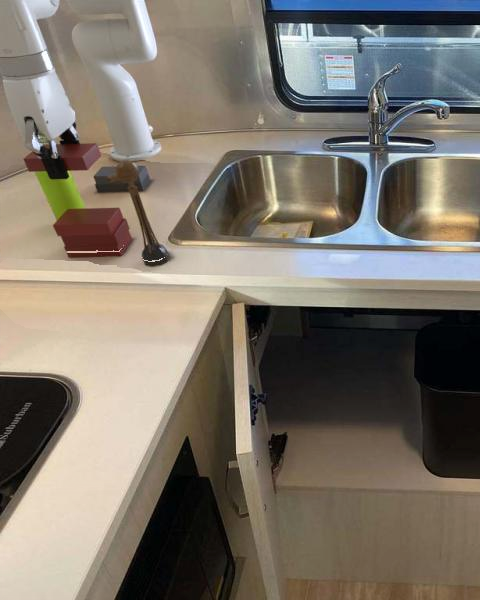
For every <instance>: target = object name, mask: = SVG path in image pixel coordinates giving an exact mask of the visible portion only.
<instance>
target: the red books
mask: <svg viewBox="0 0 480 600" xmlns="http://www.w3.org/2000/svg"><path fill="white" fill-rule="evenodd" d="M52 226H53V229H54V232H55V233H56V235H57V237H60V238H61V240H62V243H63V244H64V246H63V248H64V250H65V252H66V251H96V250H98V251H113V250H114V251H119V250H120V249H121V248H122V249H121V250H120V252H97V253H66V255H67V257H68V258H102V257H103V258H105V257H122V255H123V254H124V252H125V251H126V249H127V248H128V247H129V245H130V243H131V242H132V239H133V237H132V234H131V232H130V229H131V228H130V225H129V223H128V220H127V218H125V217H124V216H123V213H122V210H121V208H120V207H89V208H86V207H85V208H84V209H67V210H66V211H65V212H64V213H63V214H62V216H61V217H60V218H59V219H58V220H55V222H54V223H53V224H52ZM123 245H124V246H123Z"/></svg>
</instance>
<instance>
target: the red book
mask: <svg viewBox="0 0 480 600" xmlns="http://www.w3.org/2000/svg"><path fill="white" fill-rule="evenodd" d="M43 146H45V147H46V148H48V149H49V144H48V143H46V145H43ZM56 148H57V154H58V156H61V157H62V160H63V162H64V164H65V167H66V169H67V171H70V172H71V171H72V172H74V171H78V172H79V171H89V169H90V168H92V166H93V165H95V163H97V161H98V160H99V159H100V158H101V157H102V153H101V151H100V147H99V145H98V143H97V142H95V143H94V142H90V143H87V142H85V143H80V144H60V143H56ZM23 162H24V164H25V166H26V168H27V170H28V172H29V173H35V172H41V171H46V169H45V167H44V165H43V162H42V160H41V159H39V158H38V156H37V155H36V154H34V153H33V152H32V151H31V152H30V153H29V154H27V155H26V156H25V157H24V158H23Z"/></svg>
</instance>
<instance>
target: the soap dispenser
mask: <svg viewBox="0 0 480 600" xmlns="http://www.w3.org/2000/svg"><path fill="white" fill-rule="evenodd" d="M40 138H41V139H45V138H46V137H45V135H40ZM42 144H43V145H46V144H47V143H42ZM67 172H68V174H69V178H68V179H50V178H49V176H48V174H47V172H46V171H41V172H34V174H35V176H36V178H37V180H38V183H39V186H40V188H41V189H42V191H43V194H44V196H45V198H46V200H47V202H48V205H49V207H50V208H51V211H52V213H53V216H54V217H55V221H57V220H58V219H59V218H60V217H61V216H62V214H63V213H64V212H65V211H66V210H67V209H84V208H86V206H85V204H84V202H83V199H82V196H81V194H80V192H79V189H78V187H77V184H76V182H75V180H74V177H73V174H72V172H71V171H67Z"/></svg>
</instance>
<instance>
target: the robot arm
mask: <svg viewBox="0 0 480 600" xmlns="http://www.w3.org/2000/svg"><path fill="white" fill-rule="evenodd" d="M65 1H66V3H67V5H68V7H69V8H70V9H71V11H72V12H74V13H76V14H79V15H86V16H88V15H89V16H90V15H91V16H95V15H114V14H121V15H123V16H124V17H125V18H106V19H90V20H85V21H81V22H79V23H76V25H75V26H74V27H73V28H72V30H71V40H72V43H73V46H74V48H75V51H76V53H77V54H78V56H79V58H80V60H81V62H82V63H83V65H84V68H85V70H86V72H87V74H88V76H89V80H90V82H91V84H92V88H93V90H94V93H95V97H96V99H97V102H98V105H99V108H100V111H101V113H102V116H103V119H104V122H105V125H106V128H107V130H108V133H109V137H110V139H111V142H112V145H113V146H112V147H111V149H110V150H109V153H108V154H109V156H110V158H111V159H112V160H114V161H118V162H121V161H123V160H129V161H132V162H138V161H143V160H147V159H150V158H152V157H154V156H156V155H158V154H159V153H160V152H161V150H162V145H161V143H160V142H159V141H157V140H155V139H153V136H152V132H153V131H154V128H153V126H152V125H150V124H149V123H148V119H147V117H146V113H145V110H144V106H143V102H142V99H141V97H140V93H139V90H138V86H137V83H136V81H135V78H133V76H132V75H131V74H130V73H129V71H127V70H126V69H125V68H124V67H123V66H122V65H127V64H140V63H150V62H152V61H154V60H155V59H156V58H157V54H158V46H157V42H156V41H157V40H156V38H155V34H154V29H153V26H152V23H151V19H150V16H149V13H148V9H147V5H146V1H145V0H65ZM59 6H60V0H0V75H1V77H2V85H3V89H4V93H5V97H6V100H7V103H8V107H9V109H10V112H11V115H12V117H13V120H14V123H15V125H16V128H17V131H18V132H19V134H20V137H21V139H22V140H23V141H24V147H25V148H26V149H28V150H29V151H31V152H33V153H34V154H36V155H37V156H38V158H39V159H41V160H42V162H43V165H44V167H45V169H46V172H47V174H48V176H49V178H50V179H68V178H69V174H68V172H67V169H66V167H65V164H64V162H63V160H62V157H61V156H58V154H57V148H56V144H57V143H56V139H57V138H58V137H59V138H60V140H59V144H81V142H80V140H79V137H80V136H79V133H78V131H77V123H76V112H75V110H74V109H73V108H72V104H71V103H70V100H69V98H68V95H67V93H66V91H65V88H64V86H63V83H62V82H61V80H60V78H59V76H58V73H57V72H56V68H55V66H54V65H55V64H54V62H53V60H52V57H51V55H50V52H49V49H48V47H47V44H46V41H45V39H44V35H43V34H42V31H41V28H40V26H39V23H38V21H37V20H42V19H48V18H50V17H52V16H54V15H55V13H56V12H57V11H58V9H59ZM40 135H45V137H44V139H41V138H40ZM42 143H46V144H49V149H48V148H46V147H45V146H43V144H42Z"/></svg>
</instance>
